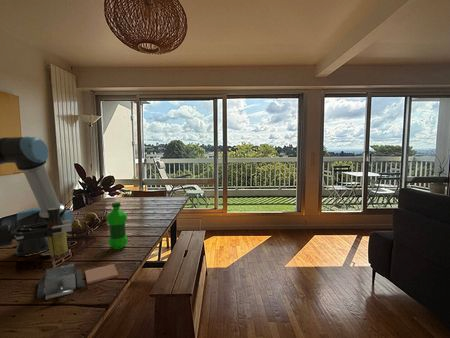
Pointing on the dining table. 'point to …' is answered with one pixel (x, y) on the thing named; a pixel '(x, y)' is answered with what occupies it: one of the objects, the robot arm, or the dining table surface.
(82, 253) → the dining table surface
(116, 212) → the plastic bottle
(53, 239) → the sauce bottle
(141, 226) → the dining table surface
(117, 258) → the dining table surface
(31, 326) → the dining table surface
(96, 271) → the terracotta tile
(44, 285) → the dark grey square frame
